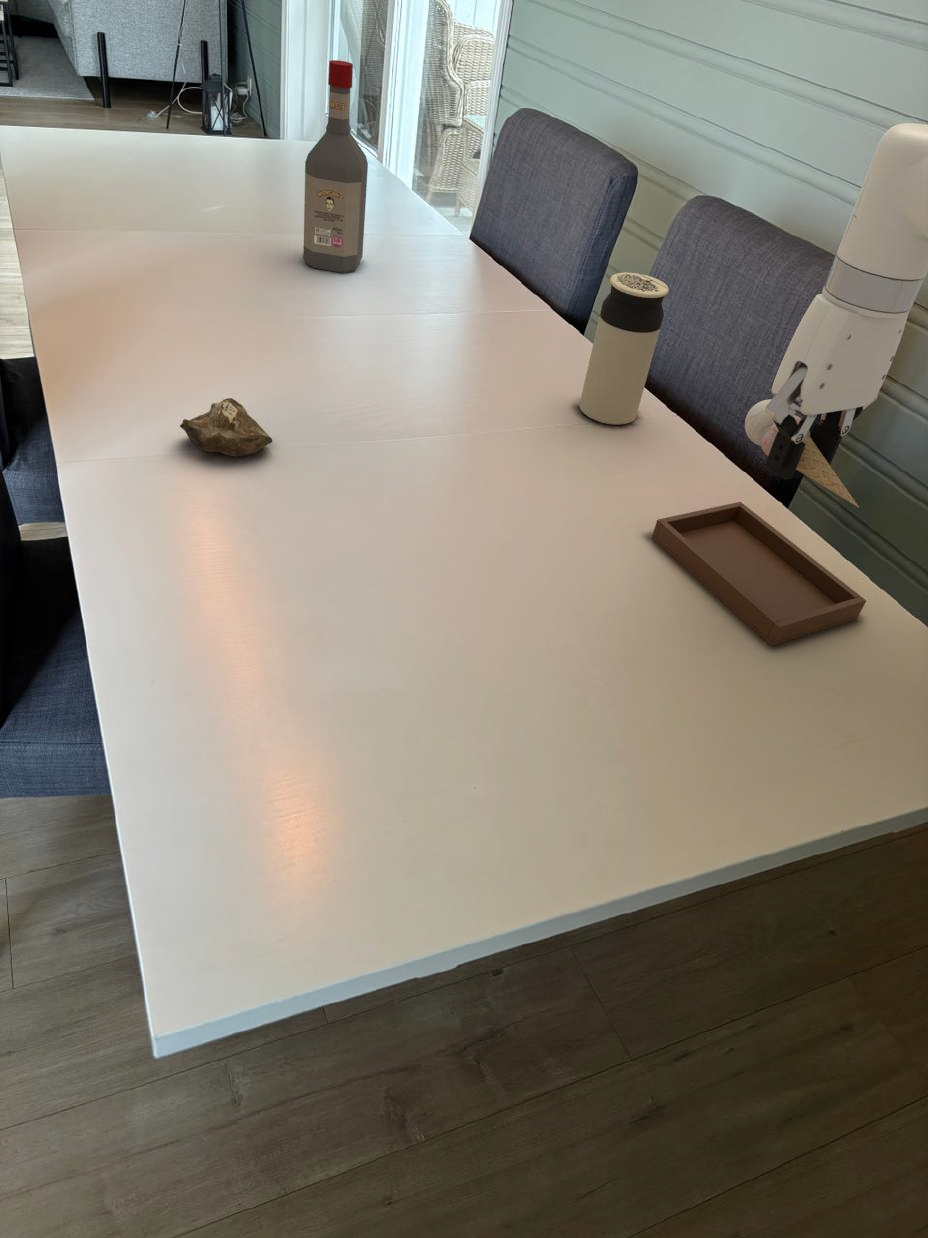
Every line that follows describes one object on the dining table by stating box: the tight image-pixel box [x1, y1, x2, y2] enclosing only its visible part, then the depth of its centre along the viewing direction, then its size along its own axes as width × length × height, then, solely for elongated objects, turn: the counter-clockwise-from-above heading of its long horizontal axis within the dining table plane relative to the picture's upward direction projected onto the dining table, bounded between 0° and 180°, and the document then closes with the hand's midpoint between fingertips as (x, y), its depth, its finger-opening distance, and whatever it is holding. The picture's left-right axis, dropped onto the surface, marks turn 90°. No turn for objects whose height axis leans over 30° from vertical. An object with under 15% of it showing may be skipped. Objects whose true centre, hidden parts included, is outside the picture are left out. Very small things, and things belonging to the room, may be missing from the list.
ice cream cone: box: [744, 398, 860, 509], centre depth 90 cm, size 5×5×15 cm
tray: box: [651, 501, 867, 647], centre depth 99 cm, size 20×13×2 cm, turn 29°
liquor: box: [302, 59, 369, 274], centre depth 148 cm, size 9×9×30 cm
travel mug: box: [578, 272, 670, 426], centre depth 120 cm, size 8×8×18 cm
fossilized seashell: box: [179, 397, 273, 458], centre depth 104 cm, size 8×7×10 cm
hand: (796, 467), depth 91 cm, fingers closed on ice cream cone, 4 cm apart
